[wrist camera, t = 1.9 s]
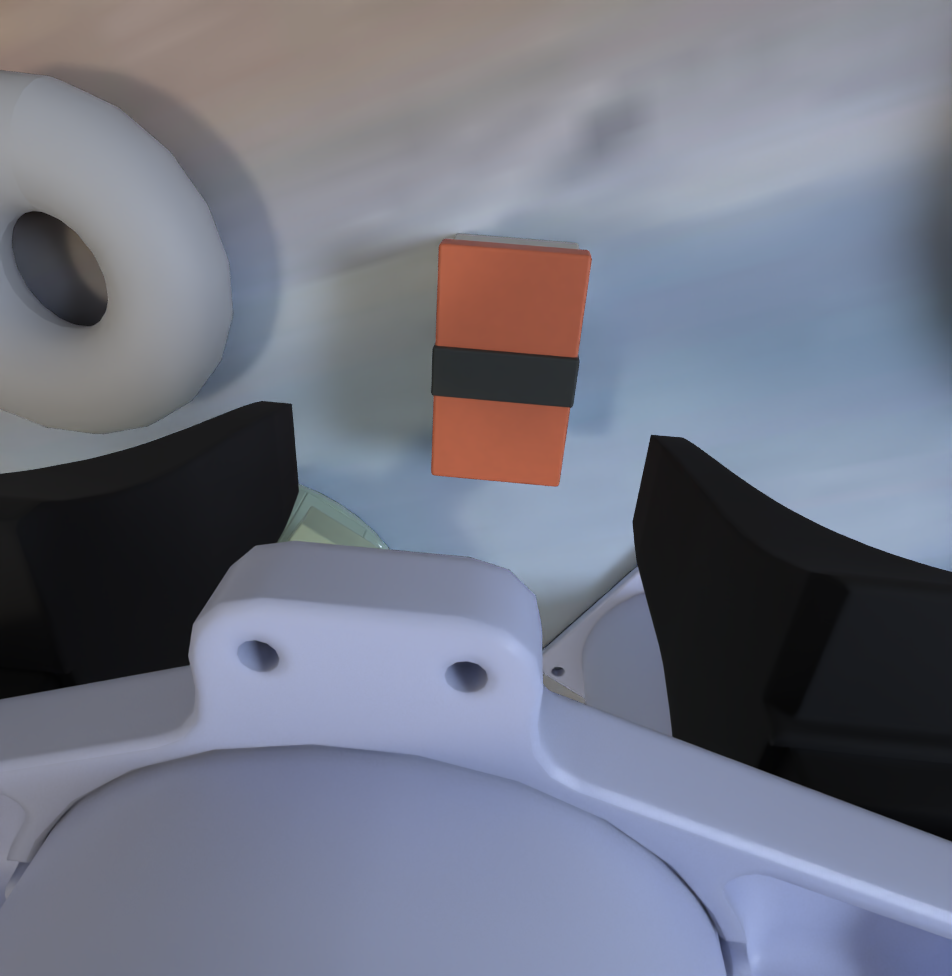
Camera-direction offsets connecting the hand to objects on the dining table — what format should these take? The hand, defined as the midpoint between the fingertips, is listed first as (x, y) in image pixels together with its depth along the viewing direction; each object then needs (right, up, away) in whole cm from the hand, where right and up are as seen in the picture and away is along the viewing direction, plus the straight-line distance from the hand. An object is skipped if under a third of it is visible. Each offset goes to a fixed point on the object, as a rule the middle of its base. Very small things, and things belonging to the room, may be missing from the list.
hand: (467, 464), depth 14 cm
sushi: (+1, +4, +8) cm, 9 cm away
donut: (-12, +7, +8) cm, 15 cm away
